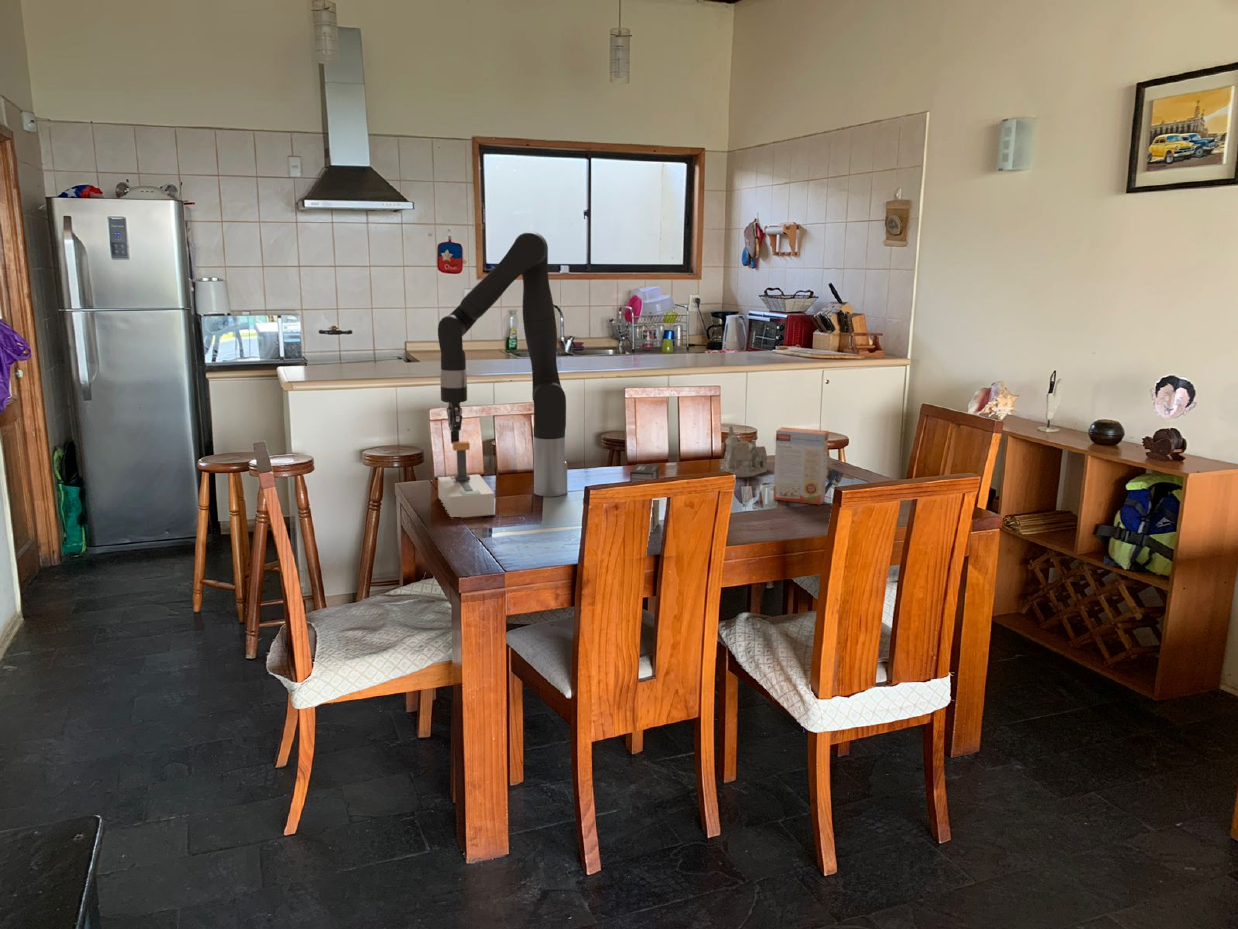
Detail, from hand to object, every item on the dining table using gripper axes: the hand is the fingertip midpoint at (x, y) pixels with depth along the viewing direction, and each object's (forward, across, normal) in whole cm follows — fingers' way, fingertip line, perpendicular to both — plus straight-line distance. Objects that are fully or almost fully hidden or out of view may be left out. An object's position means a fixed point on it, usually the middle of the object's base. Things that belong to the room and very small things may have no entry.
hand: (455, 443), depth 271 cm
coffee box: (+14, -49, -41) cm, 66 cm away
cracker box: (+14, -38, -93) cm, 102 cm away
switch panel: (+15, -15, 0) cm, 21 cm away
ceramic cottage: (+14, -2, -94) cm, 95 cm away
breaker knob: (+8, -10, 0) cm, 13 cm away
